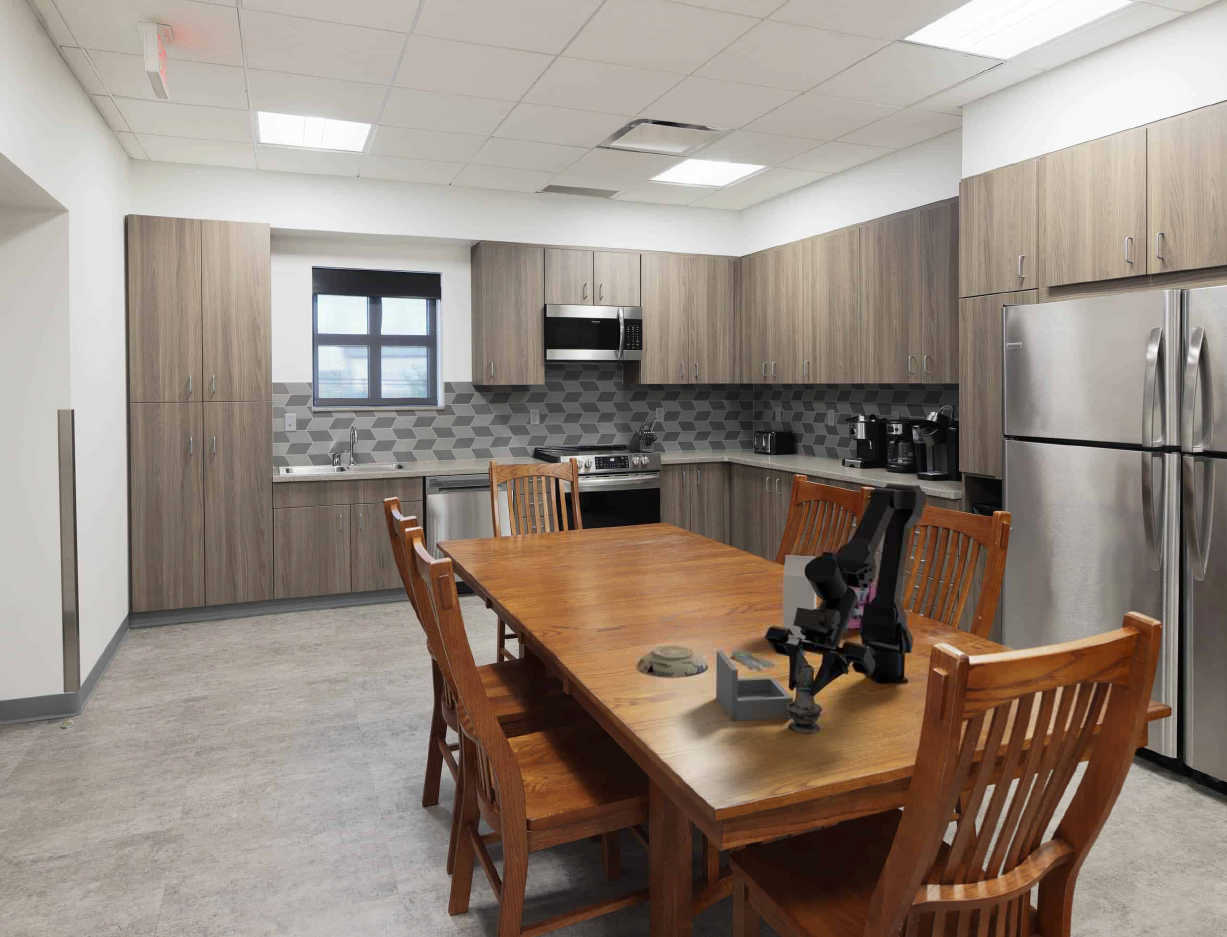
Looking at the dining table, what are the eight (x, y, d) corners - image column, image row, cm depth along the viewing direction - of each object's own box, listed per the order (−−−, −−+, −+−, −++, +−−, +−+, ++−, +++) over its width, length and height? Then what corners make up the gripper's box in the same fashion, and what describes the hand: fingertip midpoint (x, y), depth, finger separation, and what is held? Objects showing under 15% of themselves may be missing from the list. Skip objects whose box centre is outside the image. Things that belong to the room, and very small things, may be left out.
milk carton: (813, 640, 191) (814, 559, 189) (782, 638, 193) (783, 558, 191) (816, 632, 197) (817, 554, 196) (785, 629, 200) (787, 552, 198)
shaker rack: (773, 695, 156) (773, 648, 155) (792, 717, 145) (793, 667, 144) (716, 697, 155) (716, 651, 154) (731, 720, 144) (732, 670, 143)
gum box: (877, 631, 199) (879, 575, 198) (844, 631, 199) (845, 575, 198) (849, 606, 223) (851, 556, 222) (820, 606, 223) (821, 556, 222)
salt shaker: (828, 732, 139) (830, 662, 138) (797, 736, 137) (798, 666, 136) (810, 719, 144) (812, 652, 143) (780, 723, 143) (781, 655, 142)
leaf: (801, 691, 162) (801, 686, 162) (765, 692, 160) (765, 687, 160) (762, 654, 181) (762, 650, 181) (729, 655, 180) (730, 651, 180)
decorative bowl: (718, 662, 177) (653, 652, 183) (718, 646, 176) (654, 636, 183) (693, 685, 163) (625, 673, 170) (694, 667, 163) (625, 655, 170)
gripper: (770, 581, 148) (735, 655, 141) (869, 598, 135) (836, 680, 128) (792, 615, 154) (759, 688, 147) (888, 634, 142) (858, 715, 135)
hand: (800, 692), depth 139 cm, fingers closed on salt shaker, 4 cm apart
